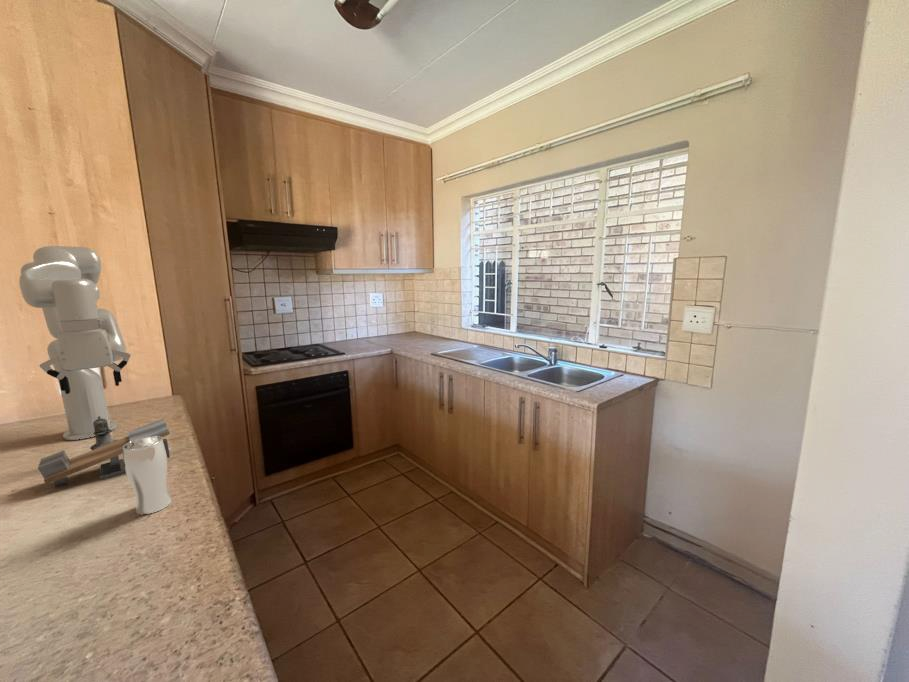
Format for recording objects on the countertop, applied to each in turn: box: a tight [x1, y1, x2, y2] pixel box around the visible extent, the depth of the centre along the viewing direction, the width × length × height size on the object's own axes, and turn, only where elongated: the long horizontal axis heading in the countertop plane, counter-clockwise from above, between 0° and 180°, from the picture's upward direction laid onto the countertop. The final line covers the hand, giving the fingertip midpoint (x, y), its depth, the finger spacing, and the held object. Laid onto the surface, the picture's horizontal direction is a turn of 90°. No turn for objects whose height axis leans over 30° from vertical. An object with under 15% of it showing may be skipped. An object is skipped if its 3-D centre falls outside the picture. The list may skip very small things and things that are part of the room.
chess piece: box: [89, 416, 119, 451], centre depth 102 cm, size 6×6×12 cm
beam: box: [37, 418, 171, 485], centre depth 94 cm, size 10×24×4 cm, turn 133°
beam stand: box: [53, 438, 170, 489], centre depth 95 cm, size 8×22×5 cm, turn 133°
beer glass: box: [122, 436, 172, 516], centre depth 79 cm, size 7×7×15 cm
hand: (93, 388), depth 100 cm, fingers open, 9 cm apart
